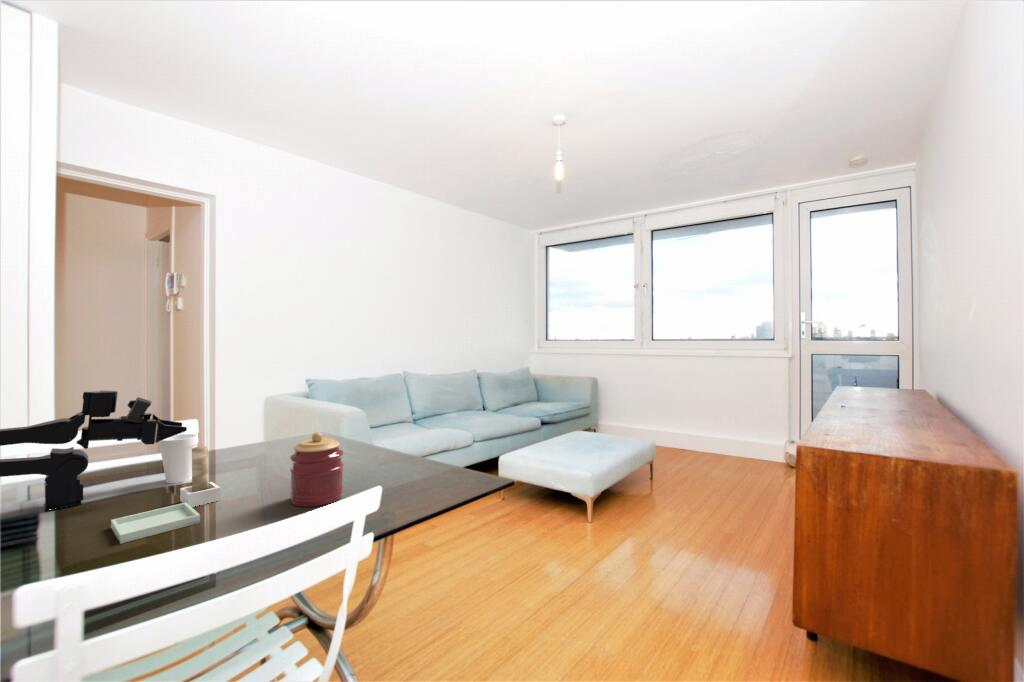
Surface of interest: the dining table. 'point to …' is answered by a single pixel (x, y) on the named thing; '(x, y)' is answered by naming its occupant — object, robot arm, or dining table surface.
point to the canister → (316, 472)
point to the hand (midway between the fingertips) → (184, 426)
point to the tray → (154, 522)
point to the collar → (200, 495)
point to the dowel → (199, 468)
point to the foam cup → (178, 457)
